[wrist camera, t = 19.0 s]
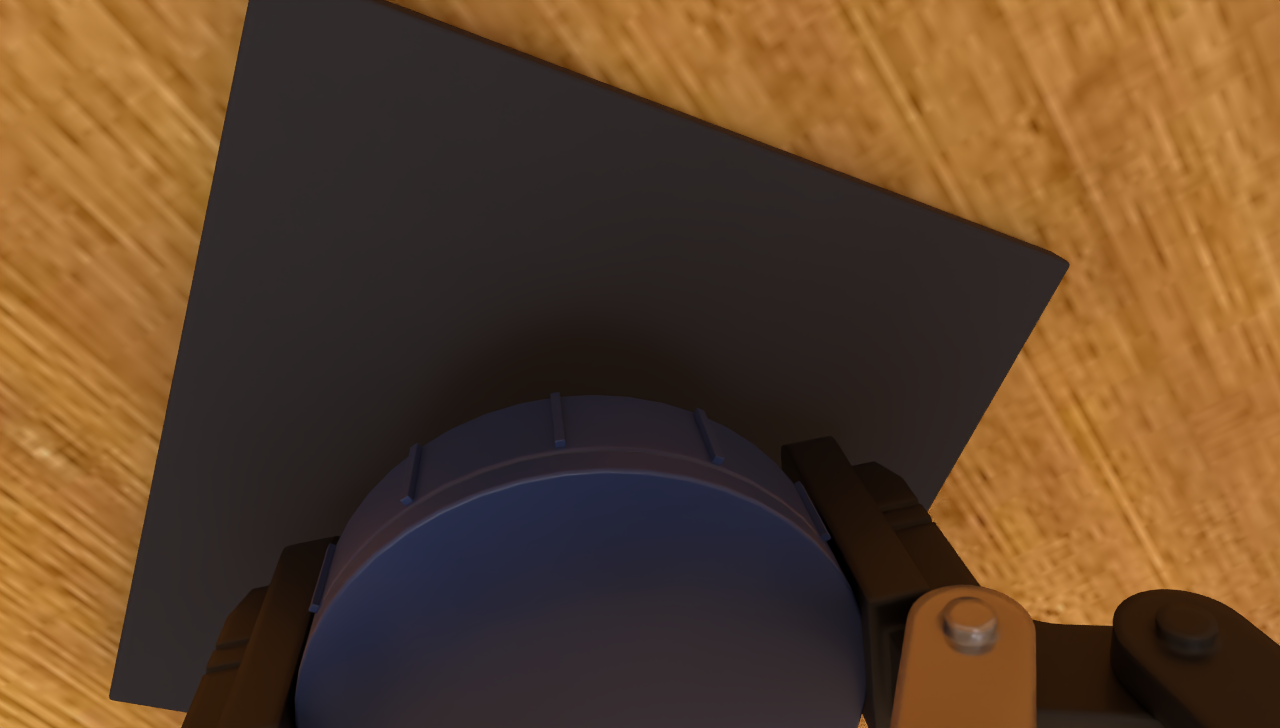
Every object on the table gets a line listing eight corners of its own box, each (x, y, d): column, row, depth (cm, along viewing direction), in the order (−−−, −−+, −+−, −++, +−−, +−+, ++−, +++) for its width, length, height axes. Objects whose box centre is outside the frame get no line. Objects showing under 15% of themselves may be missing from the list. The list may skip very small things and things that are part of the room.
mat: (749, 783, 19) (756, 809, 18) (121, 674, 16) (107, 700, 15) (1052, 251, 14) (1073, 263, 14) (268, -45, 11) (256, -44, 11)
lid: (541, 285, 10) (547, 347, 8) (922, 567, 12) (980, 656, 11) (219, 667, 11) (174, 780, 10) (612, 852, 14) (625, 967, 12)
